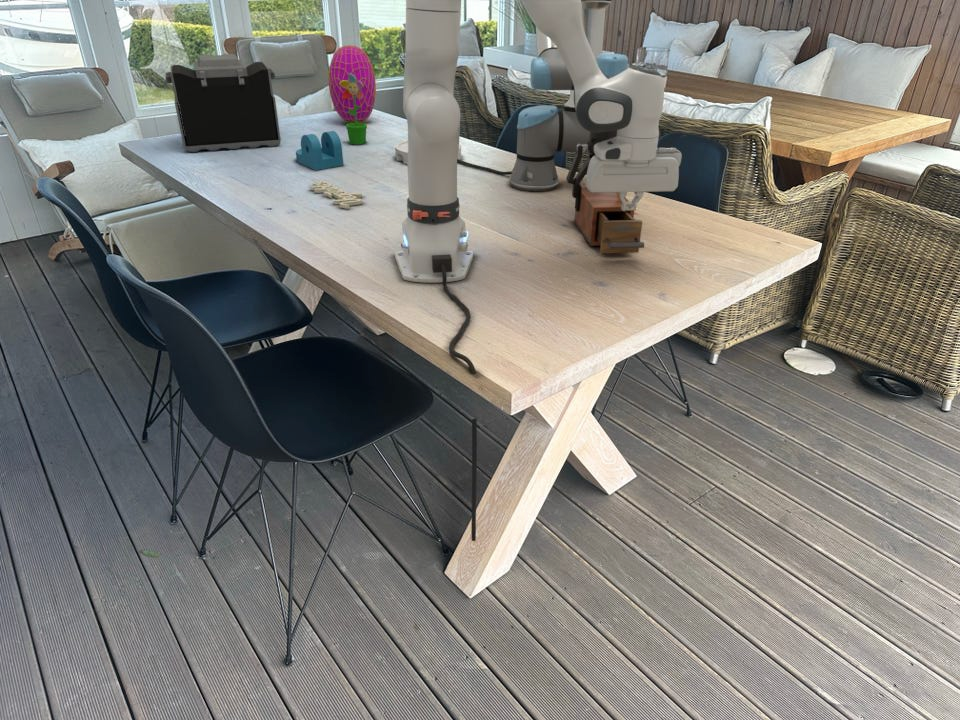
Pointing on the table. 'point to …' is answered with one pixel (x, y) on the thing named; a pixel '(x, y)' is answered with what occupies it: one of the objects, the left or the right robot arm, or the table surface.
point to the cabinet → (595, 211)
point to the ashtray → (402, 152)
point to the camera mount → (320, 151)
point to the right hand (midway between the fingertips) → (597, 209)
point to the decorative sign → (337, 194)
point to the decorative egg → (361, 68)
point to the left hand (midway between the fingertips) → (628, 210)
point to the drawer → (618, 232)
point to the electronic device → (225, 104)
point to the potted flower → (354, 129)
